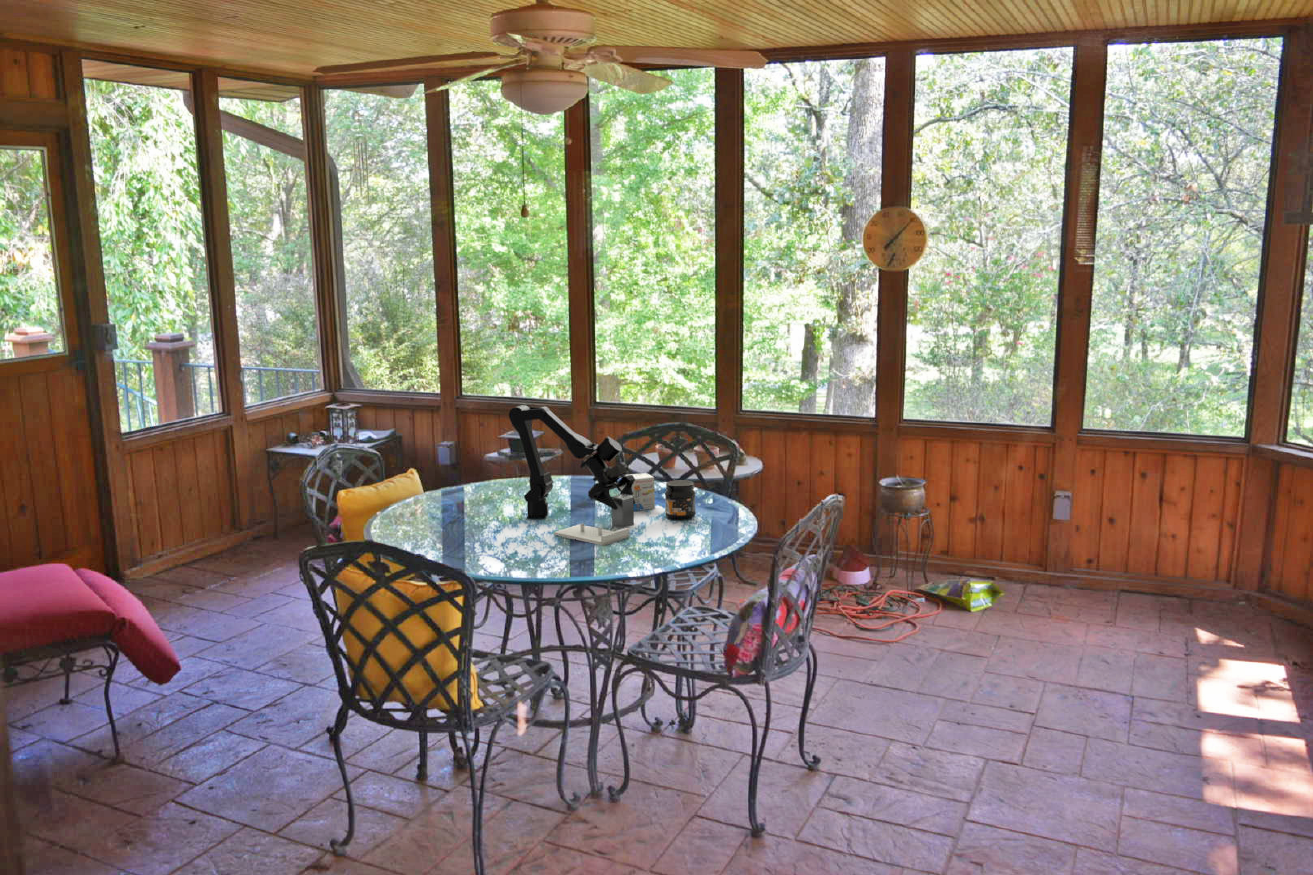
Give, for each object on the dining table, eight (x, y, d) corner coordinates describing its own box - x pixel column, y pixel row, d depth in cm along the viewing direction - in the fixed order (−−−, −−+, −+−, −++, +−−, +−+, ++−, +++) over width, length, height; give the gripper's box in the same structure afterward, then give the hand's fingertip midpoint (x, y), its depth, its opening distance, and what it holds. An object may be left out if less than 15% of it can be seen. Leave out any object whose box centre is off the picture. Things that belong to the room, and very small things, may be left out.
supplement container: (660, 519, 367) (659, 484, 365) (672, 512, 376) (672, 478, 374) (688, 521, 362) (688, 487, 360) (700, 514, 372) (700, 480, 370)
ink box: (633, 511, 378) (632, 478, 376) (624, 506, 386) (624, 474, 384) (655, 508, 381) (655, 476, 379) (647, 503, 389) (646, 472, 387)
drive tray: (554, 534, 349) (553, 524, 348) (579, 527, 358) (579, 517, 357) (604, 545, 335) (603, 534, 334) (629, 537, 344) (629, 526, 343)
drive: (611, 525, 359) (611, 496, 357) (622, 522, 363) (621, 493, 361) (623, 527, 356) (622, 498, 354) (633, 524, 360) (633, 495, 358)
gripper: (593, 460, 351) (619, 497, 346) (630, 451, 365) (656, 486, 360) (576, 480, 357) (602, 517, 352) (613, 471, 371) (638, 506, 366)
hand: (625, 506), depth 357 cm, fingers open, 9 cm apart
